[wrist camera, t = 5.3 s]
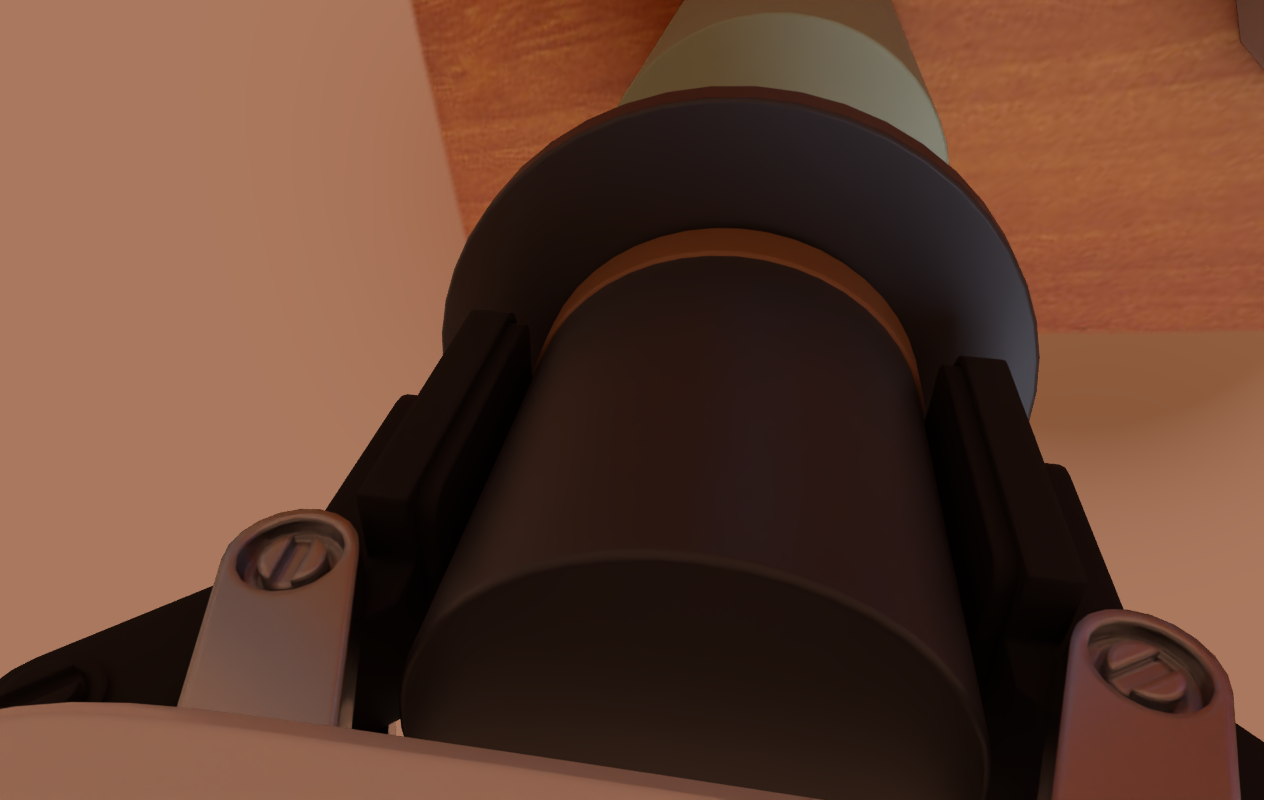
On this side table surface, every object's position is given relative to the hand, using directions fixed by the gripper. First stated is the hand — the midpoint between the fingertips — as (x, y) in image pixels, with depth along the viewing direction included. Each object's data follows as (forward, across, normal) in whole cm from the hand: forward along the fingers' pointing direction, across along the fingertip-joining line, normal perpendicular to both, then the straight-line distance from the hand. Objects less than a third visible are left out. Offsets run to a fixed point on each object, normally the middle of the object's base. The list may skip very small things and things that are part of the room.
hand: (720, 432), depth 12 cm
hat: (+1, 0, 0) cm, 1 cm away
